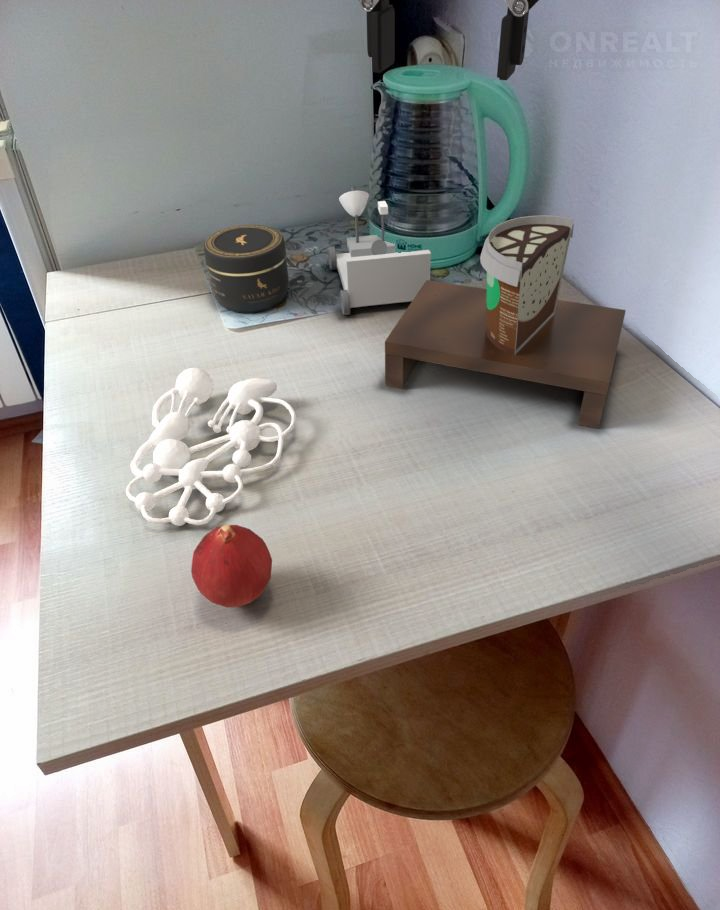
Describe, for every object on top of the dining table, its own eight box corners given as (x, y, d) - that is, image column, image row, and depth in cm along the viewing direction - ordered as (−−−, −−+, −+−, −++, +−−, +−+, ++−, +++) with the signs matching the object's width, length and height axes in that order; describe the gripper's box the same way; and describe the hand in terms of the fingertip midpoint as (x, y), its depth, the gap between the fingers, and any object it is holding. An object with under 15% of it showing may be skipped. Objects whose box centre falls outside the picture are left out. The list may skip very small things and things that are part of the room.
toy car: (321, 185, 93) (408, 177, 94) (326, 255, 99) (407, 247, 100) (339, 242, 79) (440, 232, 80) (344, 319, 86) (437, 309, 87)
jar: (230, 324, 86) (220, 265, 81) (201, 291, 92) (190, 235, 87) (303, 301, 89) (298, 244, 84) (271, 271, 96) (264, 216, 91)
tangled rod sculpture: (250, 552, 59) (246, 520, 56) (90, 520, 61) (79, 487, 58) (309, 409, 73) (309, 377, 70) (178, 386, 75) (172, 354, 72)
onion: (187, 616, 53) (164, 545, 48) (223, 561, 57) (206, 490, 52) (256, 638, 52) (240, 567, 46) (289, 579, 56) (278, 507, 50)
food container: (508, 293, 78) (518, 204, 71) (560, 308, 75) (576, 216, 69) (451, 344, 71) (457, 249, 64) (507, 362, 68) (519, 265, 61)
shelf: (615, 354, 78) (625, 309, 75) (598, 429, 68) (609, 382, 65) (425, 321, 85) (426, 279, 81) (385, 386, 75) (384, 341, 71)
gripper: (612, -251, 42) (567, 66, 54) (346, -231, 48) (356, 55, 59) (595, -262, 37) (549, 92, 48) (299, -238, 42) (319, 77, 54)
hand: (443, 71), depth 54 cm, fingers open, 9 cm apart
